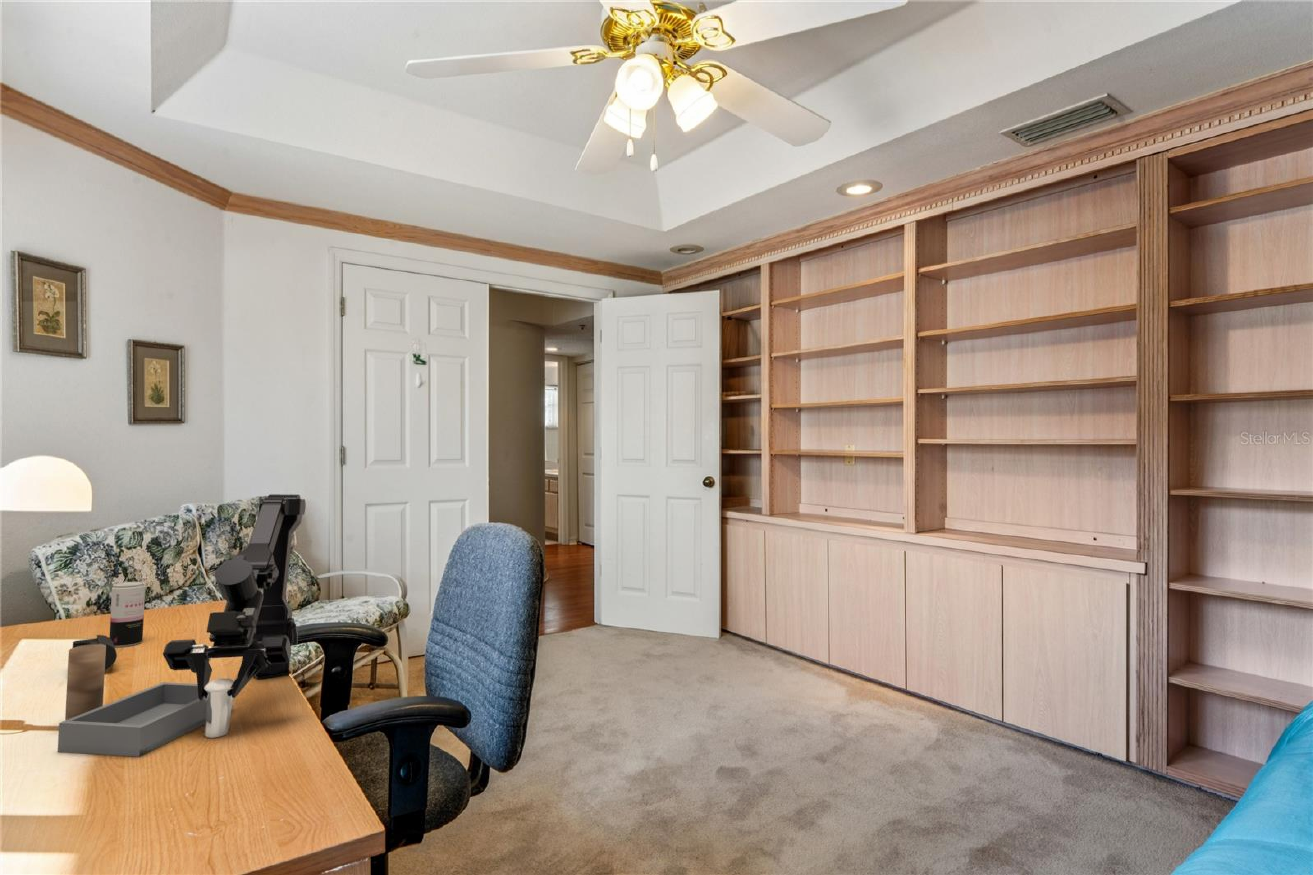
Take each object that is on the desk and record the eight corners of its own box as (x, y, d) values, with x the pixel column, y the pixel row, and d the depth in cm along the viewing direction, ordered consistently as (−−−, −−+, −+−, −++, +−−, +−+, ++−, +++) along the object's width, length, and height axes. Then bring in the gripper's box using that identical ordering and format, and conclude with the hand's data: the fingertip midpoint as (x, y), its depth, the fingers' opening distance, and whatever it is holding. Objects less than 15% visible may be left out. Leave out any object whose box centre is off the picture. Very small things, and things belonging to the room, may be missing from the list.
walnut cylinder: (102, 715, 121) (105, 642, 121) (102, 723, 117) (106, 648, 117) (65, 721, 118) (69, 647, 118) (64, 730, 114) (68, 653, 114)
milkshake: (220, 741, 110) (225, 680, 111) (193, 737, 111) (198, 676, 112) (242, 731, 115) (247, 672, 115) (216, 727, 116) (221, 669, 116)
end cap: (116, 673, 144) (117, 641, 145) (72, 680, 140) (74, 647, 140) (112, 662, 152) (114, 632, 152) (71, 668, 147) (73, 637, 147)
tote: (162, 706, 125) (163, 682, 126) (231, 710, 124) (232, 685, 124) (57, 751, 106) (59, 722, 106) (139, 756, 104) (140, 727, 104)
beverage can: (104, 645, 165) (107, 584, 166) (135, 639, 171) (138, 580, 172) (115, 649, 162) (118, 587, 163) (147, 643, 168) (150, 583, 168)
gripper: (170, 593, 115) (137, 678, 104) (290, 589, 121) (271, 670, 109) (185, 628, 122) (156, 711, 111) (298, 623, 128) (281, 702, 117)
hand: (216, 698), depth 112 cm, fingers closed on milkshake, 4 cm apart
